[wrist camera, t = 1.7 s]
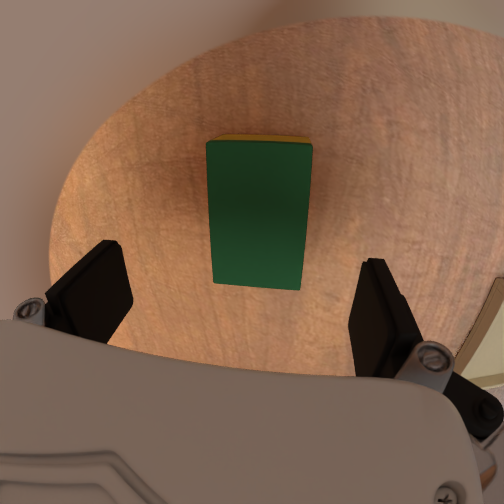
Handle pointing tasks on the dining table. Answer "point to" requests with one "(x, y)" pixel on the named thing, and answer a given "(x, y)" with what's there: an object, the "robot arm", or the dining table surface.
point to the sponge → (258, 208)
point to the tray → (485, 344)
